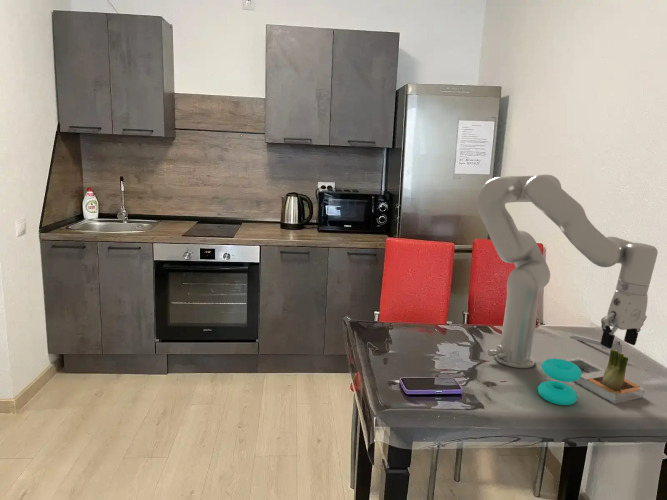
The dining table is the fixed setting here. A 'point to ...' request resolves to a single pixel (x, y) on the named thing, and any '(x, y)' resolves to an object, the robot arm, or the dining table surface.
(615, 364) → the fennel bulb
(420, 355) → the dining table surface
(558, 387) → the donuts
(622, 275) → the robot arm
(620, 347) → the caliper
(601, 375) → the orange and grey tray
